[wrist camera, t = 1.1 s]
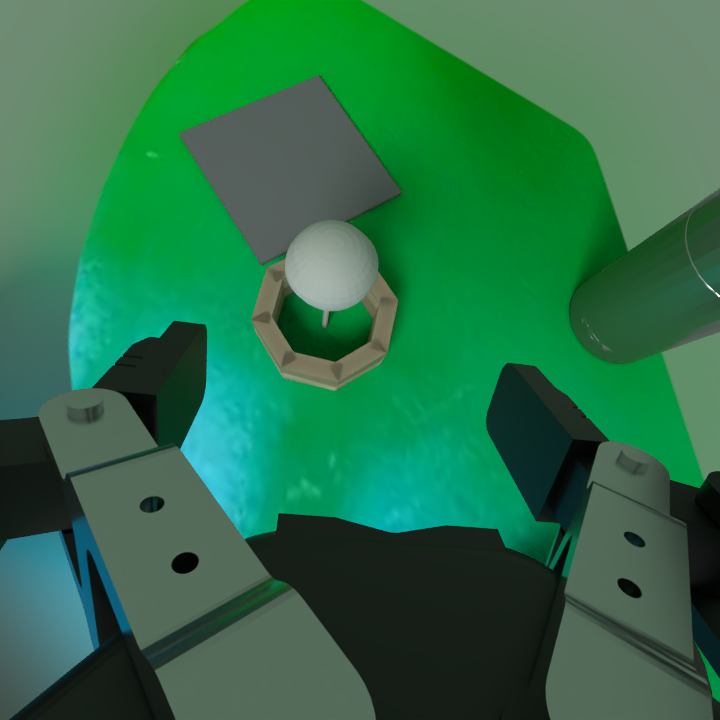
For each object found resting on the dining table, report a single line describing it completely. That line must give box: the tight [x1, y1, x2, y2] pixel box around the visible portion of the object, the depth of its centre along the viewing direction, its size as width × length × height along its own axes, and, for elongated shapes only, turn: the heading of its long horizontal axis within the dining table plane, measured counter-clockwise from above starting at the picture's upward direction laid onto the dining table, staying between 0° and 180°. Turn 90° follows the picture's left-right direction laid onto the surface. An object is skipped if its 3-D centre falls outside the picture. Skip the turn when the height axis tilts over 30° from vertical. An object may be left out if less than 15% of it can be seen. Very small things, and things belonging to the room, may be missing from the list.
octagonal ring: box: [251, 258, 398, 391], centre depth 39 cm, size 12×12×4 cm
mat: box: [179, 76, 402, 265], centre depth 45 cm, size 16×16×1 cm
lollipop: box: [285, 220, 378, 328], centre depth 34 cm, size 6×6×15 cm
